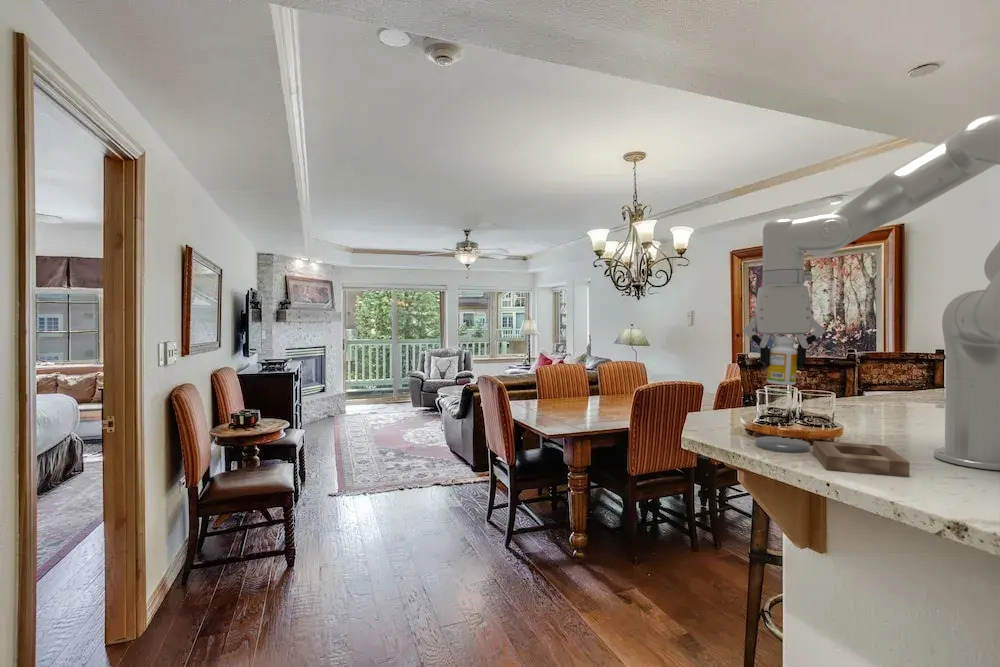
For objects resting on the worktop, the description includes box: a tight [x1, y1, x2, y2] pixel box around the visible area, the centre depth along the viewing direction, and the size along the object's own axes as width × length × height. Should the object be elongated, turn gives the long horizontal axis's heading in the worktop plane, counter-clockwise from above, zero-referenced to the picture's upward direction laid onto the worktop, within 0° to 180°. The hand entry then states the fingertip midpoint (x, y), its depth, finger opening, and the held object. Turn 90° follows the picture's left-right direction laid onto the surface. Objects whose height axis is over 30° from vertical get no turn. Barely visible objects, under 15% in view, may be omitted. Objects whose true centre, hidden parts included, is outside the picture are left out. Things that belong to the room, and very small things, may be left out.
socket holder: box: [812, 440, 911, 478], centre depth 95 cm, size 12×12×2 cm
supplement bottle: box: [766, 336, 798, 386], centre depth 107 cm, size 5×5×10 cm
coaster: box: [754, 435, 811, 454], centre depth 108 cm, size 10×10×1 cm
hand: (782, 366), depth 107 cm, fingers closed on supplement bottle, 5 cm apart
